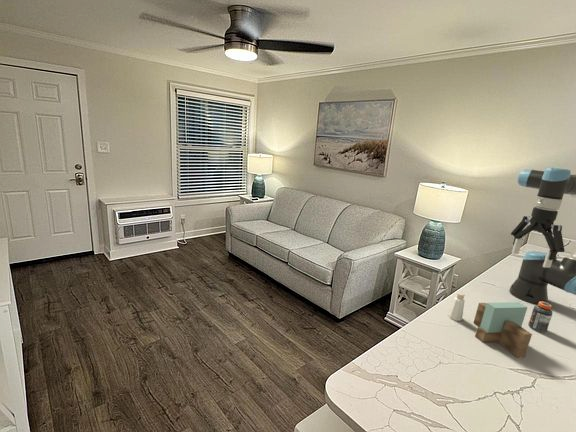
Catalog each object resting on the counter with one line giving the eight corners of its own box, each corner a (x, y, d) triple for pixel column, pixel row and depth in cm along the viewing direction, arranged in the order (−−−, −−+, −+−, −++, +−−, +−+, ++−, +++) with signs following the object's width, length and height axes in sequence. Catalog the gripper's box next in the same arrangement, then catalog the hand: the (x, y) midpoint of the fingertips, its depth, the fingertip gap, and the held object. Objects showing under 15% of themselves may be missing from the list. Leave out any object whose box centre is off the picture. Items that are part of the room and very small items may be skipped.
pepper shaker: (444, 314, 129) (450, 290, 126) (453, 312, 131) (459, 289, 128) (455, 322, 124) (462, 297, 121) (465, 320, 126) (471, 295, 123)
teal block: (511, 325, 118) (518, 302, 115) (519, 331, 114) (527, 307, 112) (480, 326, 115) (486, 302, 112) (487, 332, 111) (494, 307, 109)
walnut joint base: (459, 323, 123) (464, 303, 121) (493, 322, 126) (499, 302, 124) (501, 358, 104) (508, 335, 102) (540, 356, 108) (547, 333, 105)
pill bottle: (529, 322, 129) (537, 298, 126) (547, 329, 125) (555, 304, 122) (526, 327, 125) (534, 302, 122) (545, 335, 121) (554, 309, 118)
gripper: (509, 201, 130) (496, 248, 135) (572, 216, 106) (553, 273, 111) (524, 201, 131) (510, 248, 136) (589, 217, 108) (569, 273, 113)
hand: (529, 260), depth 124 cm, fingers open, 13 cm apart
